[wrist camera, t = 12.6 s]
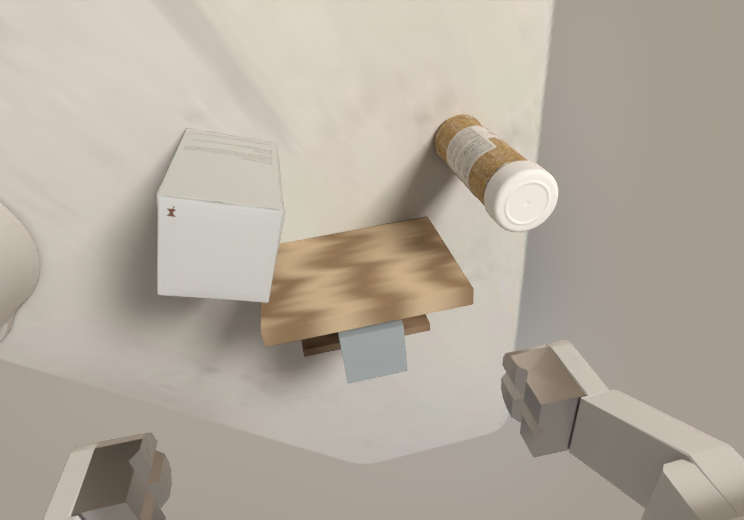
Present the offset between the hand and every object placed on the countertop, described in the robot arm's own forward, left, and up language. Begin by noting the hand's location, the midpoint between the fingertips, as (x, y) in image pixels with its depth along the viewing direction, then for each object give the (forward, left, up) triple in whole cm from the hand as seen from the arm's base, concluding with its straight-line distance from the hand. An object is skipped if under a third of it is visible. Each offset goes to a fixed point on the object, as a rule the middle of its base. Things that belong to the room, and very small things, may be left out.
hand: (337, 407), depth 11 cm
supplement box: (-6, -6, -31) cm, 32 cm away
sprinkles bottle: (+14, -6, -31) cm, 35 cm away
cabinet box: (+3, -18, -26) cm, 32 cm away
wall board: (+3, -17, -31) cm, 36 cm away
